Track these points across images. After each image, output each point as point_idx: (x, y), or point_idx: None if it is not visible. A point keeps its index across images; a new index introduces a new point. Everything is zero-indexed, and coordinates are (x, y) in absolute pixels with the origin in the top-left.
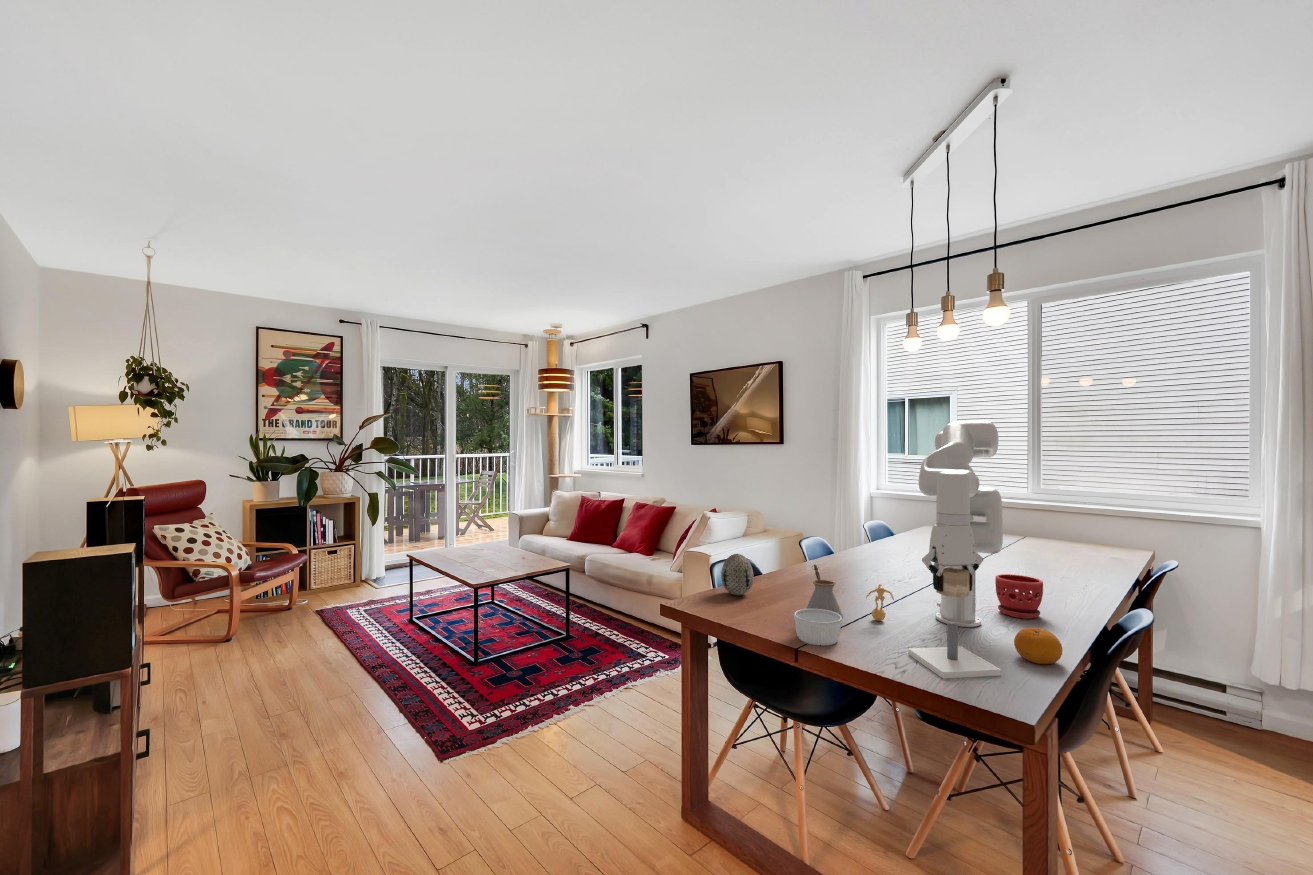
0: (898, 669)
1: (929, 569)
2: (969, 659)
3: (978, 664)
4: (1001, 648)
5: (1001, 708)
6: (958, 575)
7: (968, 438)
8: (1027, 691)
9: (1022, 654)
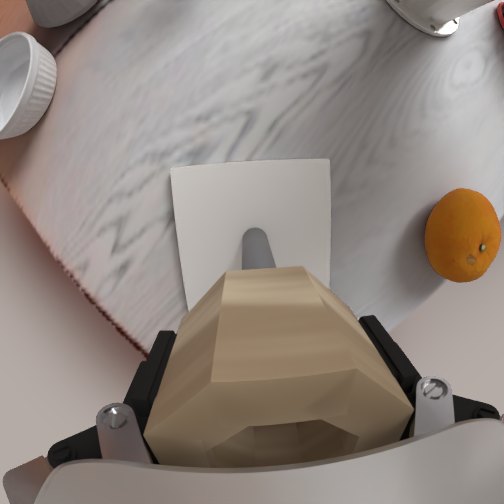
0: (116, 257)
1: (79, 441)
2: (295, 247)
3: None
4: (427, 155)
5: None
6: None
7: None
8: None
9: (425, 237)
